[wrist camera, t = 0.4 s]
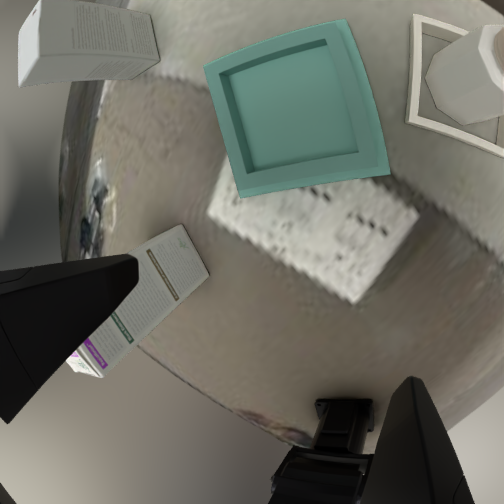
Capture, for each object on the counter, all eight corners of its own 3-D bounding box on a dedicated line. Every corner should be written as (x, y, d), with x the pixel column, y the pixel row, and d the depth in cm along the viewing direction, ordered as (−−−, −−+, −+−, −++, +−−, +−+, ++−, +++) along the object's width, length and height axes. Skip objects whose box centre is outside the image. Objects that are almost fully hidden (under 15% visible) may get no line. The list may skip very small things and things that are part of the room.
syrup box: (182, 221, 25) (46, 302, 13) (212, 277, 26) (99, 382, 14) (147, 240, 28) (32, 312, 16) (174, 289, 29) (74, 375, 17)
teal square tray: (390, 173, 16) (392, 177, 15) (243, 196, 21) (231, 203, 20) (346, 21, 13) (342, 10, 11) (207, 66, 18) (192, 62, 16)
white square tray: (499, 157, 12) (511, 160, 10) (404, 122, 14) (408, 121, 13) (505, 60, 8) (516, 55, 7) (410, 24, 11) (413, 13, 9)
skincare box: (122, 36, 19) (17, 31, 9) (151, 14, 17) (41, -5, 7) (130, 83, 21) (16, 89, 11) (161, 62, 19) (38, 55, 9)
